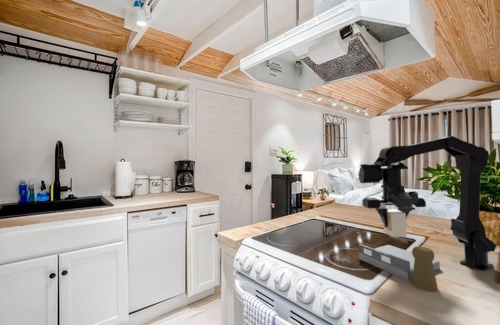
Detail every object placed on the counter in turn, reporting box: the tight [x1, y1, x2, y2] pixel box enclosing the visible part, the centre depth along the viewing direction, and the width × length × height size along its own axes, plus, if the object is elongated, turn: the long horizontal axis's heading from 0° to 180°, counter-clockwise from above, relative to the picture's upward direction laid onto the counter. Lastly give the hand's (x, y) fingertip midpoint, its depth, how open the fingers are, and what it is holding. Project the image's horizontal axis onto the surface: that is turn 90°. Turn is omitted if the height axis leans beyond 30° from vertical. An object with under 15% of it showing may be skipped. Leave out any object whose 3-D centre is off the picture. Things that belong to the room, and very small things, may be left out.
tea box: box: [382, 208, 407, 238], centre depth 83 cm, size 6×5×8 cm
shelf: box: [358, 243, 441, 281], centre depth 83 cm, size 16×18×6 cm
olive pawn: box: [411, 245, 438, 292], centre depth 68 cm, size 6×6×11 cm
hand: (393, 226), depth 83 cm, fingers closed on tea box, 5 cm apart
